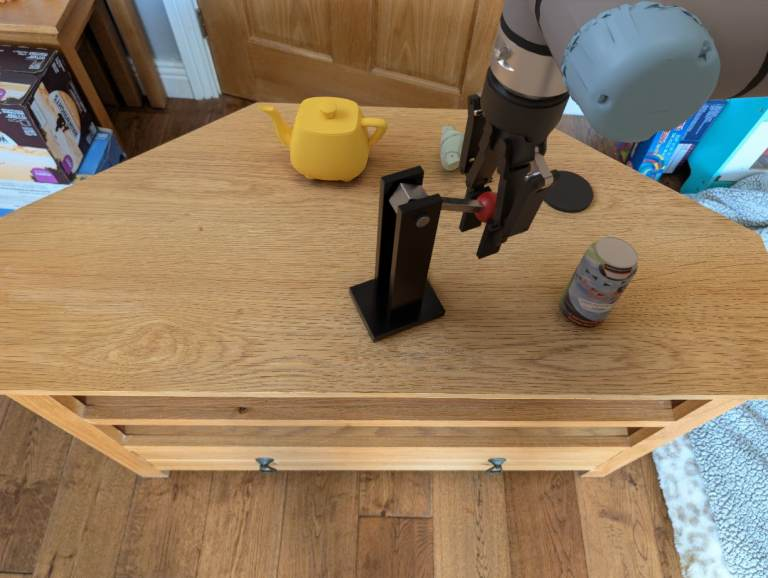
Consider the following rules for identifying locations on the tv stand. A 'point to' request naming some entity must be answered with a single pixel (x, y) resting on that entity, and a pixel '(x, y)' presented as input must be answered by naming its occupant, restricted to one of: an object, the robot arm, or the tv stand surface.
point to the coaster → (570, 193)
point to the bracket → (401, 262)
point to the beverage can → (598, 281)
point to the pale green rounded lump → (451, 147)
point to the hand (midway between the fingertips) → (478, 239)
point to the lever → (447, 201)
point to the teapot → (328, 137)
